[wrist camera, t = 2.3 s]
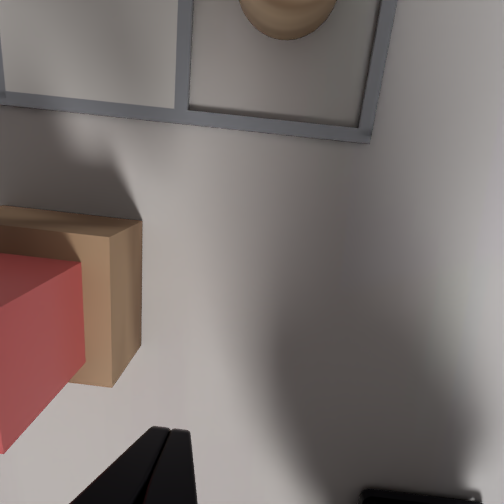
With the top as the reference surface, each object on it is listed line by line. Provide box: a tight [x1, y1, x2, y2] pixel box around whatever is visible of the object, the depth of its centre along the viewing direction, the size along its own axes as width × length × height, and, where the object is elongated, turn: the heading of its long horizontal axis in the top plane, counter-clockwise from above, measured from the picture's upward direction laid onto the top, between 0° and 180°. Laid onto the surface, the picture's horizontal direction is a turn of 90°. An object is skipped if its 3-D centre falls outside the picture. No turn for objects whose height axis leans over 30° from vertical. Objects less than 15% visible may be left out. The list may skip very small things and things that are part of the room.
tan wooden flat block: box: [0, 205, 142, 388], centre depth 13 cm, size 6×6×3 cm
